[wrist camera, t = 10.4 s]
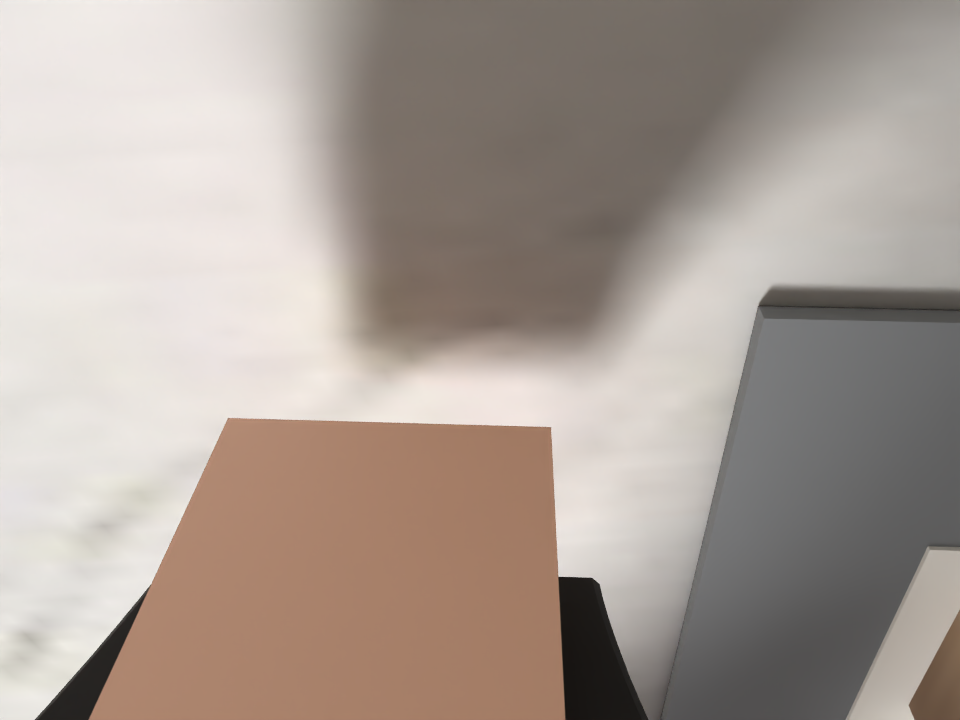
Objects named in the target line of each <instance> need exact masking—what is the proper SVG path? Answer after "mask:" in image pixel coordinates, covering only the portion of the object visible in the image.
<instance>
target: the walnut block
mask: <svg viewBox="0 0 960 720" xmlns="http://www.w3.org/2000/svg"><path fill="white" fill-rule="evenodd" d="M909 708H910V710H911V713H912V715H913V717H914V720H960V610H959V612H958V614H957V615H956V617H955V619H954V621H953V623H952V625H951V627H950V629H949V630H948V632H947V634H946V636H945V638H944V640H943V642H942V643H941V645H940V647H939V649H938V651H937V653H936V655H935V657H934V658H933V660H932V662H931V664H930V666H929V668H928V670H927V671H926V673H925V675H924V677H923V679H922V681H921V683H920V685H919V686H918V688H917V690H916V692H915V694H914V696H913V698H912V699H911V701H910V703H909Z"/></svg>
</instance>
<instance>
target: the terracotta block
mask: <svg viewBox="0 0 960 720" xmlns="http://www.w3.org/2000/svg"><path fill="white" fill-rule="evenodd" d="M89 720H565V704H564V683H563V663H562V643H561V622H560V602H559V581H558V561H557V541H556V520H555V500H554V480H553V459H552V439H551V427H525V426H490V425H454V424H418V423H383V422H347V421H311V420H276V419H240V418H228V420H227V422H226V424H225V426H224V428H223V430H222V432H221V435H220V437H219V439H218V441H217V443H216V445H215V448H214V450H213V452H212V454H211V456H210V458H209V461H208V463H207V465H206V467H205V469H204V471H203V474H202V476H201V478H200V480H199V482H198V484H197V487H196V489H195V491H194V493H193V495H192V497H191V500H190V502H189V504H188V506H187V508H186V510H185V513H184V515H183V517H182V519H181V521H180V523H179V526H178V528H177V530H176V532H175V534H174V536H173V539H172V541H171V543H170V545H169V547H168V549H167V551H166V554H165V556H164V558H163V560H162V562H161V564H160V567H159V569H158V571H157V573H156V575H155V577H154V580H153V582H152V584H151V586H150V588H149V590H148V593H147V595H146V597H145V599H144V601H143V603H142V606H141V608H140V610H139V612H138V614H137V616H136V619H135V621H134V623H133V625H132V627H131V629H130V632H129V634H128V636H127V638H126V640H125V642H124V645H123V647H122V649H121V651H120V653H119V655H118V658H117V660H116V662H115V664H114V666H113V668H112V671H111V673H110V675H109V677H108V679H107V681H106V683H105V686H104V688H103V690H102V692H101V694H100V696H99V699H98V701H97V703H96V705H95V707H94V709H93V712H92V714H91V716H90V718H89Z"/></svg>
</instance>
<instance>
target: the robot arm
mask: <svg viewBox="0 0 960 720" xmlns="http://www.w3.org/2000/svg"><path fill="white" fill-rule="evenodd" d="M558 581H559V602H560V622H561V643H562V663H563V683H564V704H565V720H648V718H647V716H646V714H645V712H644V709H643V707H642V705H641V703H640V700H639V698H638V696H637V693H636V691H635V688H634V686H633V684H632V681H631V679H630V676H629V674H628V671H627V668H626V666H625V663H624V661H623V658H622V655H621V653H620V650H619V647H618V645H617V642H616V639H615V636H614V633H613V630H612V627H611V624H610V621H609V618H608V615H607V611H606V608H605V604H604V601H603V597H602V593H601V589H600V584H599V583H597V582H596V581H595V580H594V579H593V578H578V577H558ZM150 586H151V585H150ZM150 586H149V588H150ZM149 588H148V589H147V590H146V591H145V593H144V594H143V595H142V596H141V597H140V599H139V600H138V601H137V602H136V604H135V605H134V606H133V607H132V608H131V610H130V611H129V612H128V613H127V614H126V616H125V617H124V618H123V619H122V620H121V622H120V623H119V624H118V625H117V626H116V628H115V629H114V630H113V631H112V632H111V634H110V635H109V636H108V637H107V638H106V640H105V641H104V642H103V643H102V644H101V645H100V647H99V648H98V649H97V650H96V651H95V653H94V654H93V655H92V656H91V657H90V658H89V659H88V661H87V662H86V663H85V664H84V665H83V666H82V667H81V669H80V670H79V671H78V672H77V673H76V674H75V675H74V676H73V678H72V679H71V680H70V681H69V682H68V683H67V684H66V686H65V687H64V688H63V689H62V690H61V691H60V692H59V693H58V695H57V696H56V697H55V698H54V699H53V700H52V701H51V703H50V704H49V705H48V706H47V707H46V708H45V709H44V710H43V711H42V712H41V714H40V715H39V716H38V717H37V718H36V719H35V720H89V718H90V716H91V714H92V712H93V709H94V707H95V705H96V703H97V701H98V699H99V696H100V694H101V692H102V690H103V688H104V686H105V683H106V681H107V679H108V677H109V675H110V673H111V671H112V668H113V666H114V664H115V662H116V660H117V658H118V655H119V653H120V651H121V649H122V647H123V645H124V642H125V640H126V638H127V636H128V634H129V632H130V629H131V627H132V625H133V623H134V621H135V619H136V616H137V614H138V612H139V610H140V608H141V606H142V603H143V601H144V599H145V597H146V595H147V593H148V590H149Z"/></svg>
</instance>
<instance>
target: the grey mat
mask: <svg viewBox="0 0 960 720" xmlns="http://www.w3.org/2000/svg"><path fill="white" fill-rule="evenodd" d="M959 610H960V311H952V310H907V309H861V308H815V307H770V306H758V310H757V314H756V319H755V323H754V327H753V331H752V335H751V340H750V344H749V348H748V352H747V357H746V361H745V365H744V369H743V373H742V378H741V382H740V386H739V390H738V395H737V399H736V403H735V407H734V411H733V416H732V420H731V424H730V428H729V433H728V437H727V441H726V445H725V449H724V454H723V458H722V462H721V466H720V471H719V475H718V479H717V483H716V487H715V492H714V496H713V500H712V504H711V509H710V513H709V517H708V521H707V525H706V530H705V534H704V538H703V542H702V547H701V551H700V555H699V559H698V563H697V568H696V572H695V576H694V580H693V585H692V589H691V593H690V597H689V601H688V606H687V610H686V614H685V618H684V623H683V627H682V631H681V635H680V640H679V644H678V648H677V652H676V656H675V661H674V665H673V669H672V673H671V678H670V682H669V686H668V690H667V694H666V699H665V703H664V707H663V711H662V716H661V720H914V717H913V715H912V713H911V710H910V708H909V703H910V701H911V699H912V698H913V696H914V694H915V692H916V690H917V688H918V686H919V685H920V683H921V681H922V679H923V677H924V675H925V673H926V671H927V670H928V668H929V666H930V664H931V662H932V660H933V658H934V657H935V655H936V653H937V651H938V649H939V647H940V645H941V643H942V642H943V640H944V638H945V636H946V634H947V632H948V630H949V629H950V627H951V625H952V623H953V621H954V619H955V617H956V615H957V614H958V612H959Z"/></svg>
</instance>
